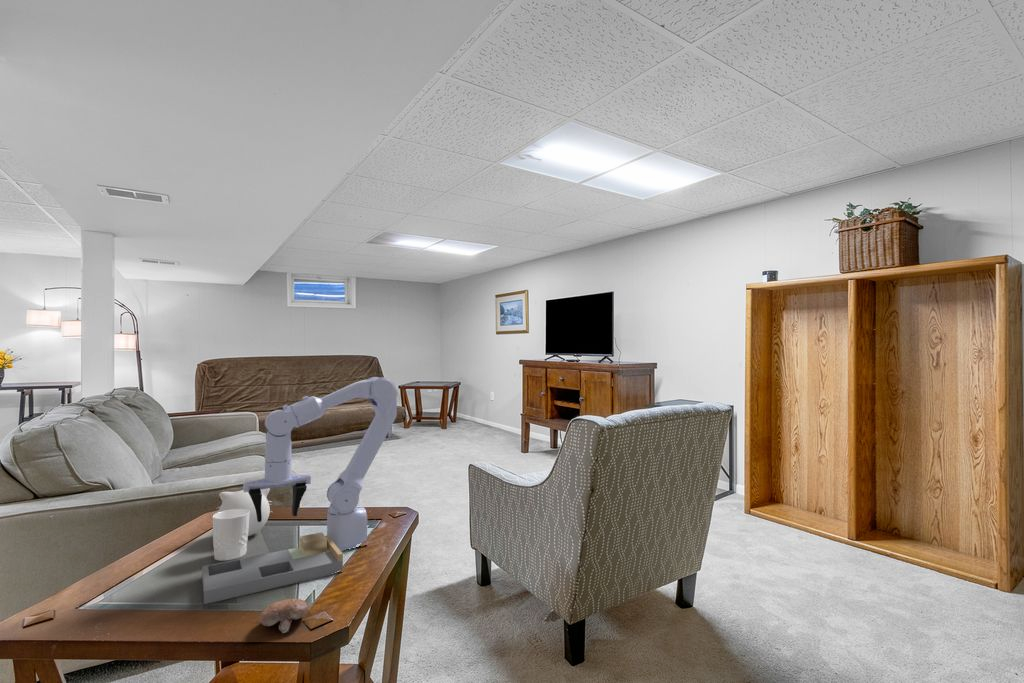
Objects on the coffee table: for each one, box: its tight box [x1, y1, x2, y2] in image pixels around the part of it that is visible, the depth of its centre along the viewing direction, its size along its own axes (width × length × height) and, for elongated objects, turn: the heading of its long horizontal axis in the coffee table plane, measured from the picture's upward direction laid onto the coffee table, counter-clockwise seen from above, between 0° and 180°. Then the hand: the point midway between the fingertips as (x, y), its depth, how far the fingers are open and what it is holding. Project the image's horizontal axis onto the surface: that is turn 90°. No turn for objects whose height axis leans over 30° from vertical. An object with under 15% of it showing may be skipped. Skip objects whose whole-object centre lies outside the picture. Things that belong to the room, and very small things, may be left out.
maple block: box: [299, 532, 327, 556], centre depth 114 cm, size 5×5×3 cm
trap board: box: [201, 534, 344, 605], centre depth 107 cm, size 26×14×4 cm, turn 124°
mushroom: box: [259, 597, 309, 634], centre depth 86 cm, size 8×6×8 cm
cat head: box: [216, 488, 273, 537], centre depth 131 cm, size 15×13×12 cm
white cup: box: [211, 509, 250, 562], centre depth 118 cm, size 8×8×10 cm
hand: (277, 517), depth 116 cm, fingers open, 7 cm apart
